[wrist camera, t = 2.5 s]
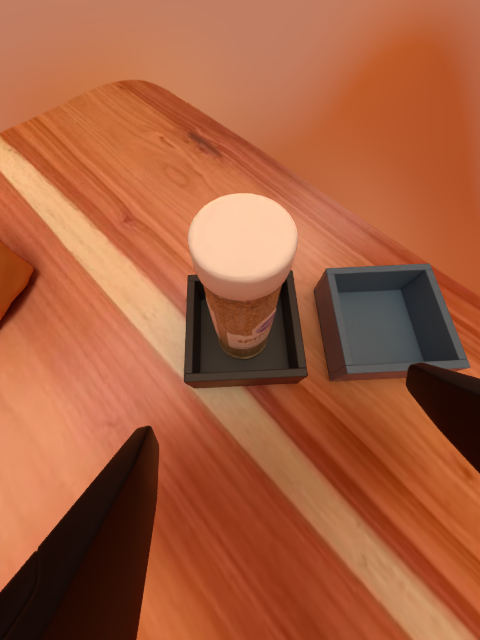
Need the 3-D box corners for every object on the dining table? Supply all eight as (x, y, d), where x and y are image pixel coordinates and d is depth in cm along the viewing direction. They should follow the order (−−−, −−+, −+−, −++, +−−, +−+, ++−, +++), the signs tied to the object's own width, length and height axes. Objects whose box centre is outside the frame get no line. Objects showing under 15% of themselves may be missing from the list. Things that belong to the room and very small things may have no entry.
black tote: (297, 383, 21) (308, 376, 17) (193, 388, 21) (183, 382, 17) (285, 291, 24) (292, 269, 21) (195, 295, 24) (187, 274, 21)
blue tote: (433, 376, 21) (471, 367, 18) (330, 381, 21) (347, 373, 17) (403, 285, 24) (430, 263, 21) (313, 289, 24) (325, 268, 21)
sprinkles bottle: (253, 369, 21) (269, 299, 9) (208, 345, 22) (162, 249, 10) (276, 325, 23) (317, 210, 10) (233, 304, 23) (221, 174, 11)
